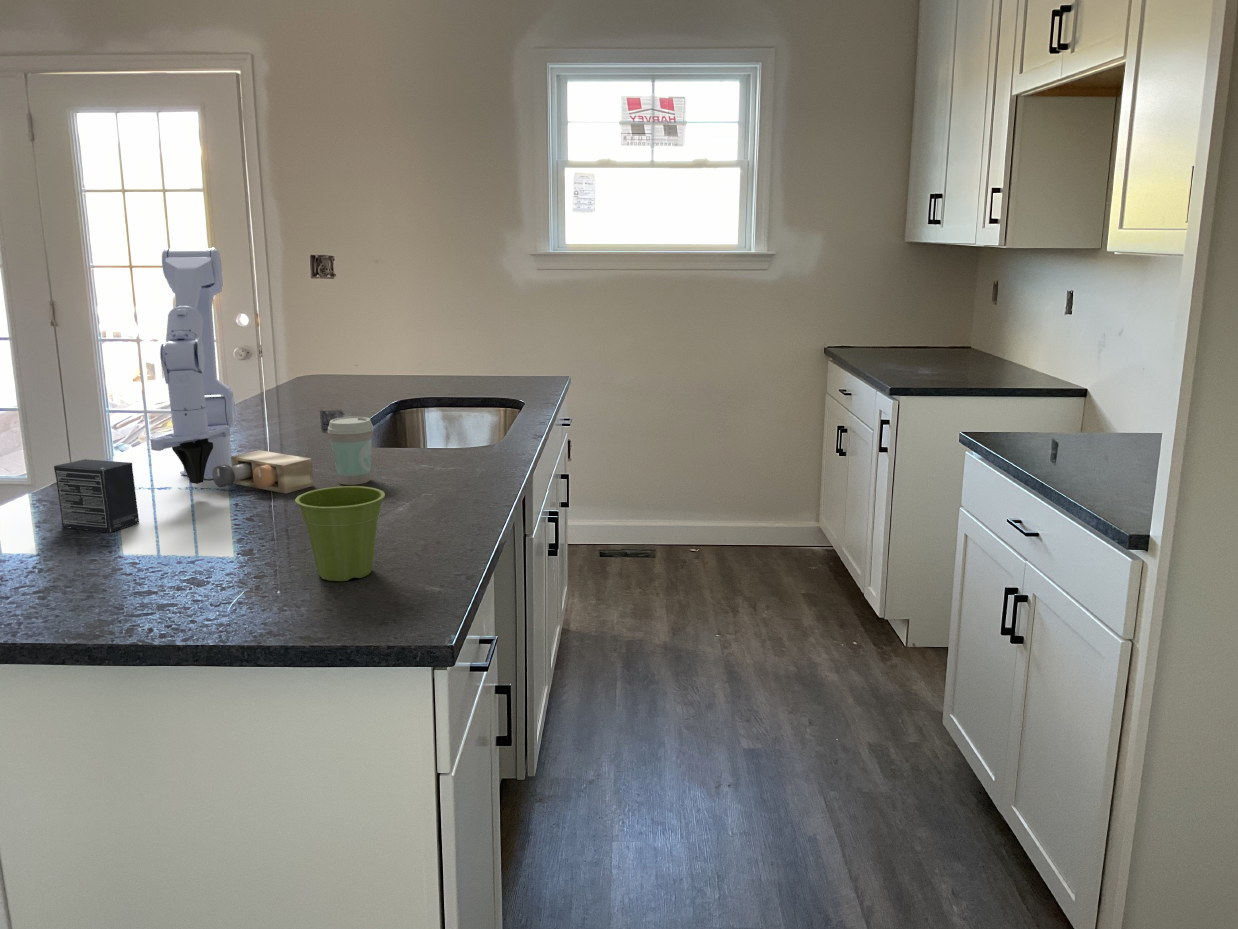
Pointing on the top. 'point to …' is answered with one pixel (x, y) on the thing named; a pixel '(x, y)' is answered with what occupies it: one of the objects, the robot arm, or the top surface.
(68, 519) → the small box
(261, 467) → the orange knob
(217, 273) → the robot arm
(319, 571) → the plant pot
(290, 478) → the mount
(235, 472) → the charcoal knob
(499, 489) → the top surface
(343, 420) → the coffee cup
